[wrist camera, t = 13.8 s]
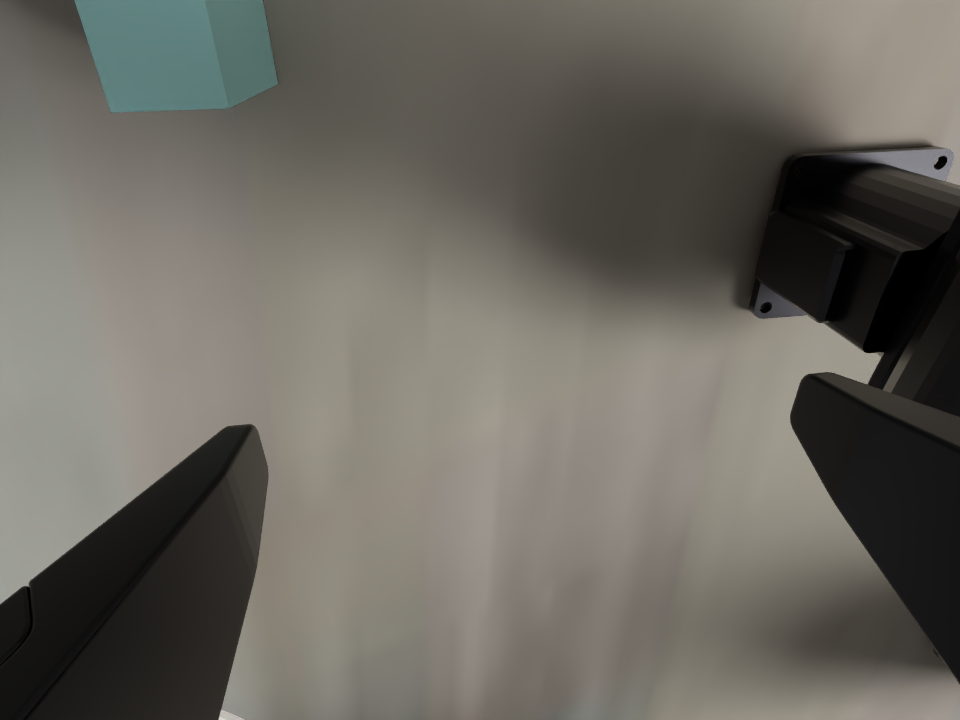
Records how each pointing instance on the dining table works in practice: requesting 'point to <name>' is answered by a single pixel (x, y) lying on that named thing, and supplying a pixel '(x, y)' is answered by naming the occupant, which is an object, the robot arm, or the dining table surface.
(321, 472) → the dining table surface
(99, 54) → the teal notched plate
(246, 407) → the dining table surface
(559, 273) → the dining table surface
